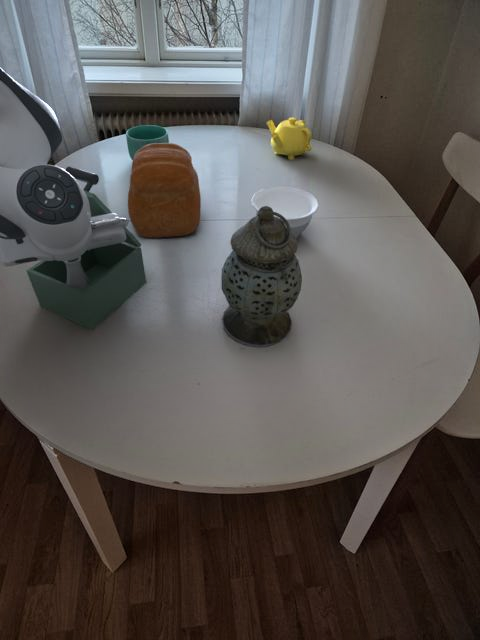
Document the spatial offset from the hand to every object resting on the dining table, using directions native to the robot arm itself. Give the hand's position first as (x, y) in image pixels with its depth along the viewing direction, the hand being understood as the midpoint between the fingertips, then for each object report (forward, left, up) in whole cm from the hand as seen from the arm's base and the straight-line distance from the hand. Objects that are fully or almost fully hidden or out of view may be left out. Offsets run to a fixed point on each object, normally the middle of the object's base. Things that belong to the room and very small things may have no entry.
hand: (67, 250), depth 78 cm
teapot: (+75, +50, -13) cm, 91 cm away
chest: (+3, +1, -12) cm, 13 cm away
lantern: (+30, -20, -13) cm, 38 cm away
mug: (+31, +57, -13) cm, 66 cm away
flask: (0, -1, -12) cm, 12 cm away
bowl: (+50, +7, -13) cm, 52 cm away
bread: (+26, +25, -13) cm, 38 cm away
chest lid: (+6, +3, +4) cm, 8 cm away
